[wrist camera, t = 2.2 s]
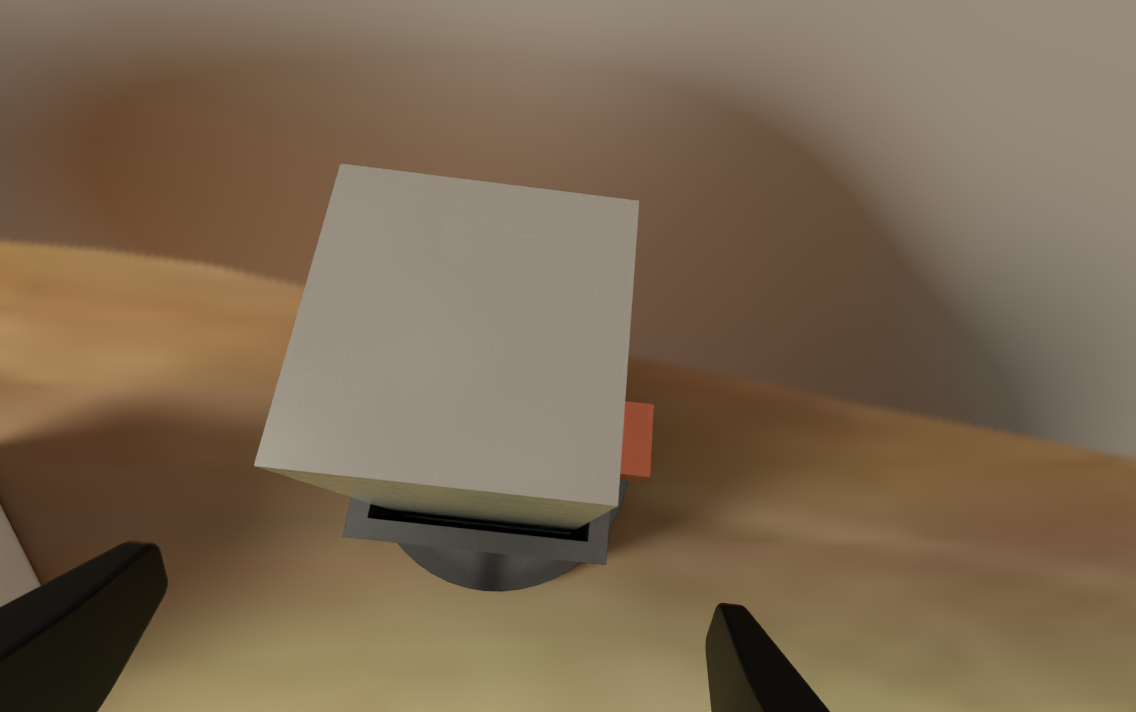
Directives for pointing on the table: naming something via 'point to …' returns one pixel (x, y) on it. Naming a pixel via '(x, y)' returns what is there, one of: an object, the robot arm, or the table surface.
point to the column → (461, 352)
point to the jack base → (507, 531)
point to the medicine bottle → (13, 565)
